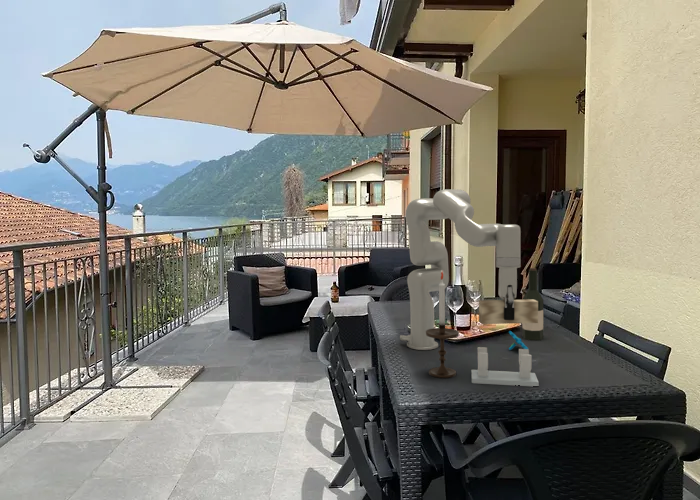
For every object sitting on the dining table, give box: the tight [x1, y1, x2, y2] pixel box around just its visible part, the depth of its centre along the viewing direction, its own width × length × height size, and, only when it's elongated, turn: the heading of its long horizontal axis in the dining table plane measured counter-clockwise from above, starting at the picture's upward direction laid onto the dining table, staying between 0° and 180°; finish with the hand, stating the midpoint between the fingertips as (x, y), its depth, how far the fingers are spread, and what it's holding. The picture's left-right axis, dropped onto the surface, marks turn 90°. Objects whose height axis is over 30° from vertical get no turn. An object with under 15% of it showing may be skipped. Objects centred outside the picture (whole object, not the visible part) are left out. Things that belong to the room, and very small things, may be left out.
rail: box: [478, 299, 538, 325], centre depth 161 cm, size 18×4×7 cm, turn 89°
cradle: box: [470, 346, 540, 387], centre depth 158 cm, size 20×9×10 cm, turn 77°
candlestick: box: [426, 271, 460, 379], centre depth 165 cm, size 11×11×35 cm
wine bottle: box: [521, 267, 544, 341], centre depth 209 cm, size 8×8×30 cm
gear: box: [508, 330, 529, 351], centre depth 193 cm, size 11×6×10 cm
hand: (508, 317), depth 161 cm, fingers closed on rail, 4 cm apart
